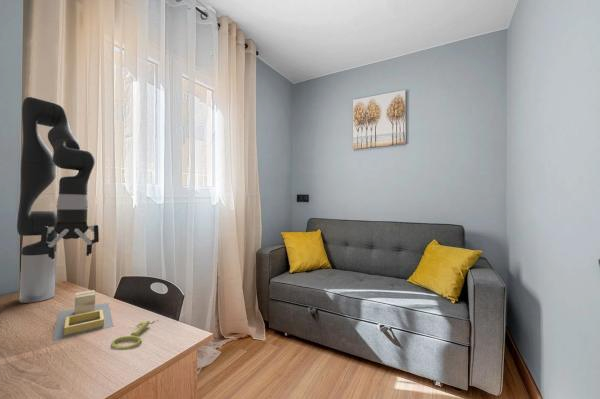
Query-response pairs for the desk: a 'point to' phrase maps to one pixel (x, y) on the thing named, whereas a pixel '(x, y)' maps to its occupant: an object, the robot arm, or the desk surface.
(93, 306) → the beech block
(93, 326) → the puzzle board
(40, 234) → the robot arm
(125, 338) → the key
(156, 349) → the desk surface
